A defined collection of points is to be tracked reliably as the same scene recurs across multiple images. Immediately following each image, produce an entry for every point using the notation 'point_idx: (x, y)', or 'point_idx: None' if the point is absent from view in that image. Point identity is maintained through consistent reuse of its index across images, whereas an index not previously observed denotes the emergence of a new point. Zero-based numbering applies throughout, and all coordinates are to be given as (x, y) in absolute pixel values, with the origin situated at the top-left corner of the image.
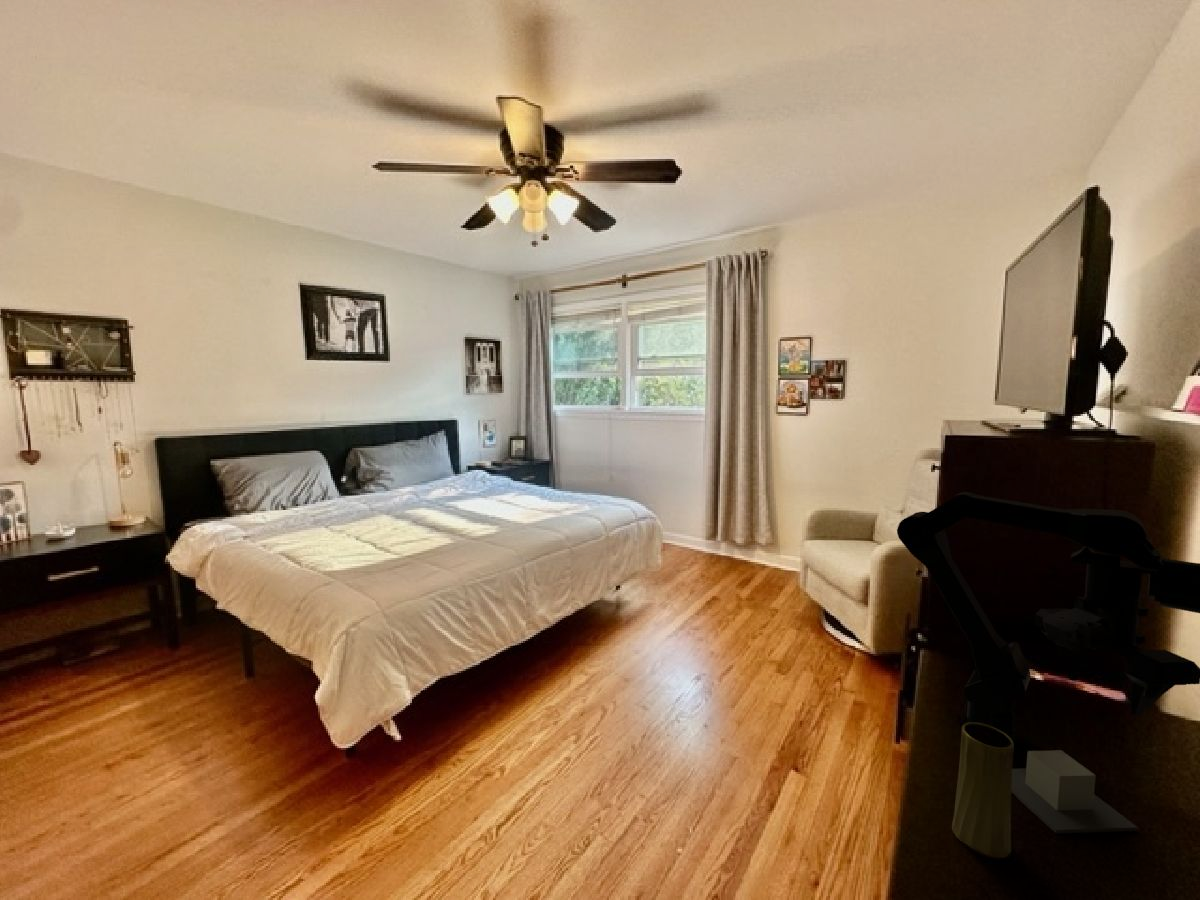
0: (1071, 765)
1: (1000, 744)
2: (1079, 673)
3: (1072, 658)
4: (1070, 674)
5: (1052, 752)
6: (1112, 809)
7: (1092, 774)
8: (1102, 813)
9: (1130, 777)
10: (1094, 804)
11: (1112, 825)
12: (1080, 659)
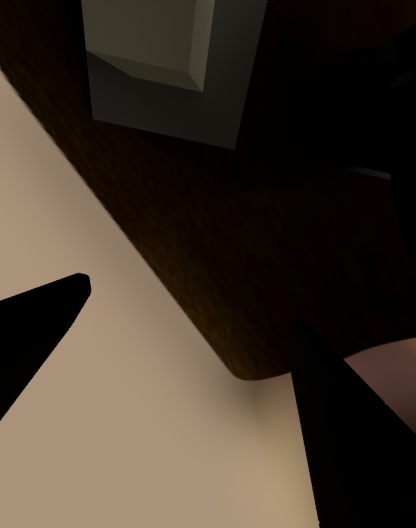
0: (124, 12)
1: None
2: (292, 361)
3: (337, 421)
4: (307, 335)
5: (183, 17)
6: (129, 122)
7: (89, 43)
8: (121, 86)
9: (194, 248)
10: (142, 99)
11: (92, 66)
12: (312, 431)
